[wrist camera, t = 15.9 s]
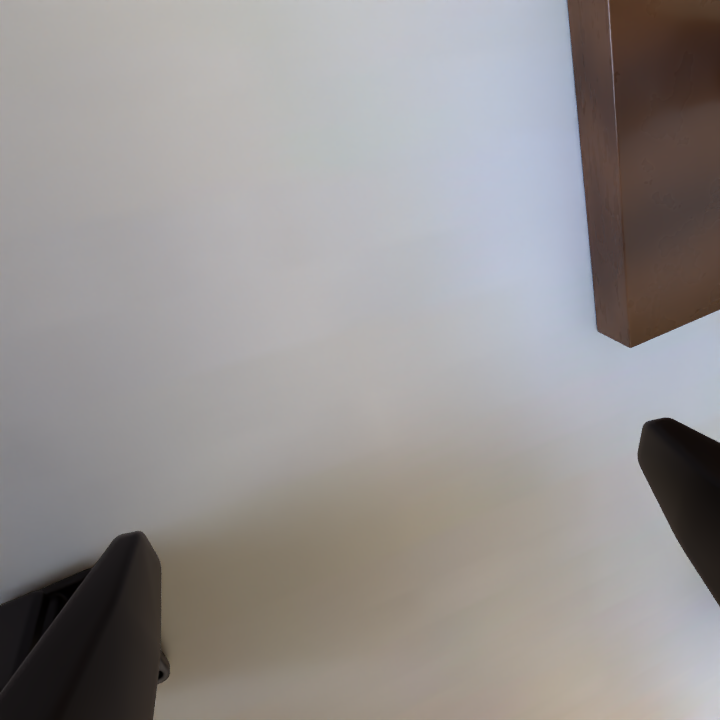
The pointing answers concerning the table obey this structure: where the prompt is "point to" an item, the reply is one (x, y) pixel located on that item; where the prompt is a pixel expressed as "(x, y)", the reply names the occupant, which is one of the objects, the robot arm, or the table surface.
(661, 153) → the walnut board
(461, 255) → the table surface
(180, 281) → the table surface
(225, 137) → the table surface
